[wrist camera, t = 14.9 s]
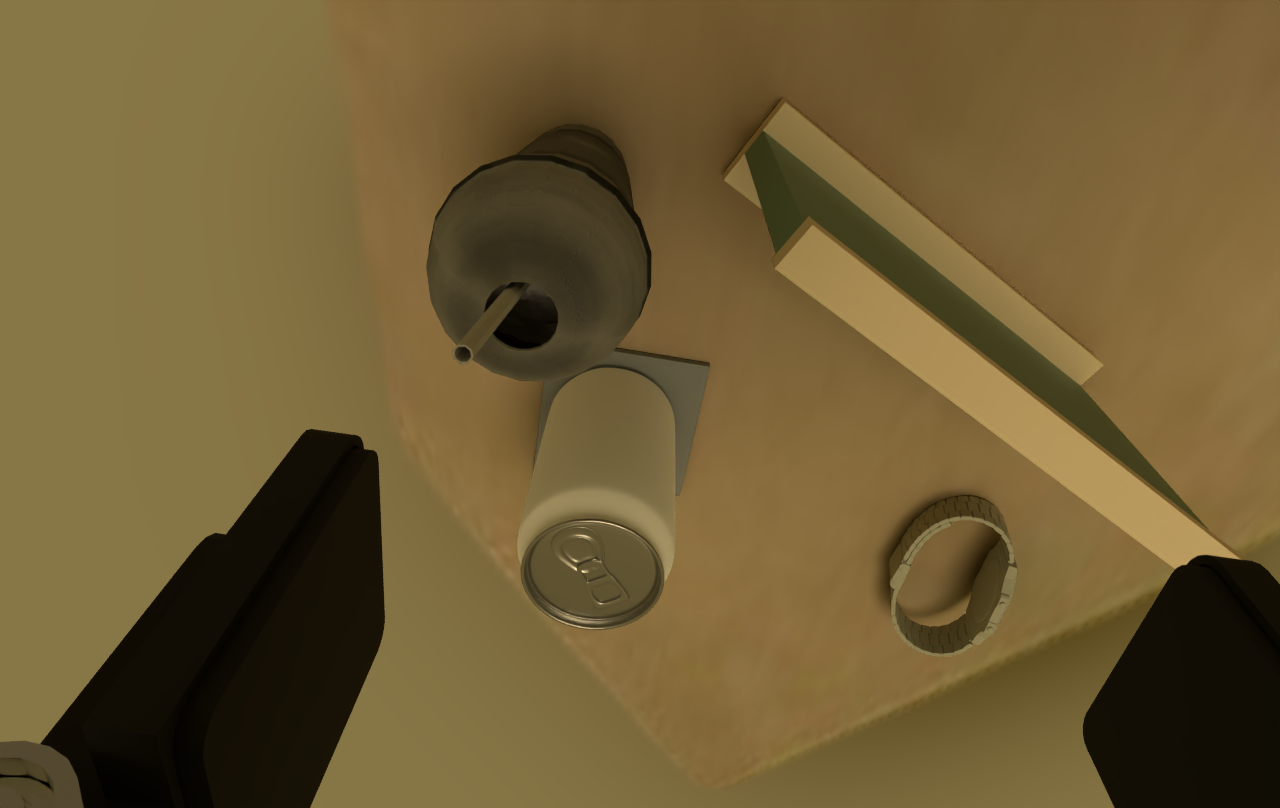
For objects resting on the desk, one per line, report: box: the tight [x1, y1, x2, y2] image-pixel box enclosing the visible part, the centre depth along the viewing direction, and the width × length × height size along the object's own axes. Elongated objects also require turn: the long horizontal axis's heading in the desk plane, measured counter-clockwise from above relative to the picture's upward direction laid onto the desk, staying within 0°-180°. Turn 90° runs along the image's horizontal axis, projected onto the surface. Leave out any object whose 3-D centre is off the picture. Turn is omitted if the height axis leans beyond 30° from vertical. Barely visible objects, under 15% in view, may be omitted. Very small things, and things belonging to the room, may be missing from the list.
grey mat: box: [533, 348, 710, 496], centre depth 43 cm, size 8×8×1 cm
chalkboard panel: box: [723, 98, 1243, 569], centre depth 32 cm, size 20×4×14 cm, turn 54°
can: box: [517, 368, 675, 630], centre depth 37 cm, size 6×6×12 cm
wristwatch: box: [889, 496, 1017, 657], centre depth 45 cm, size 9×6×5 cm
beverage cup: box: [426, 125, 651, 382], centre depth 28 cm, size 7×7×20 cm
